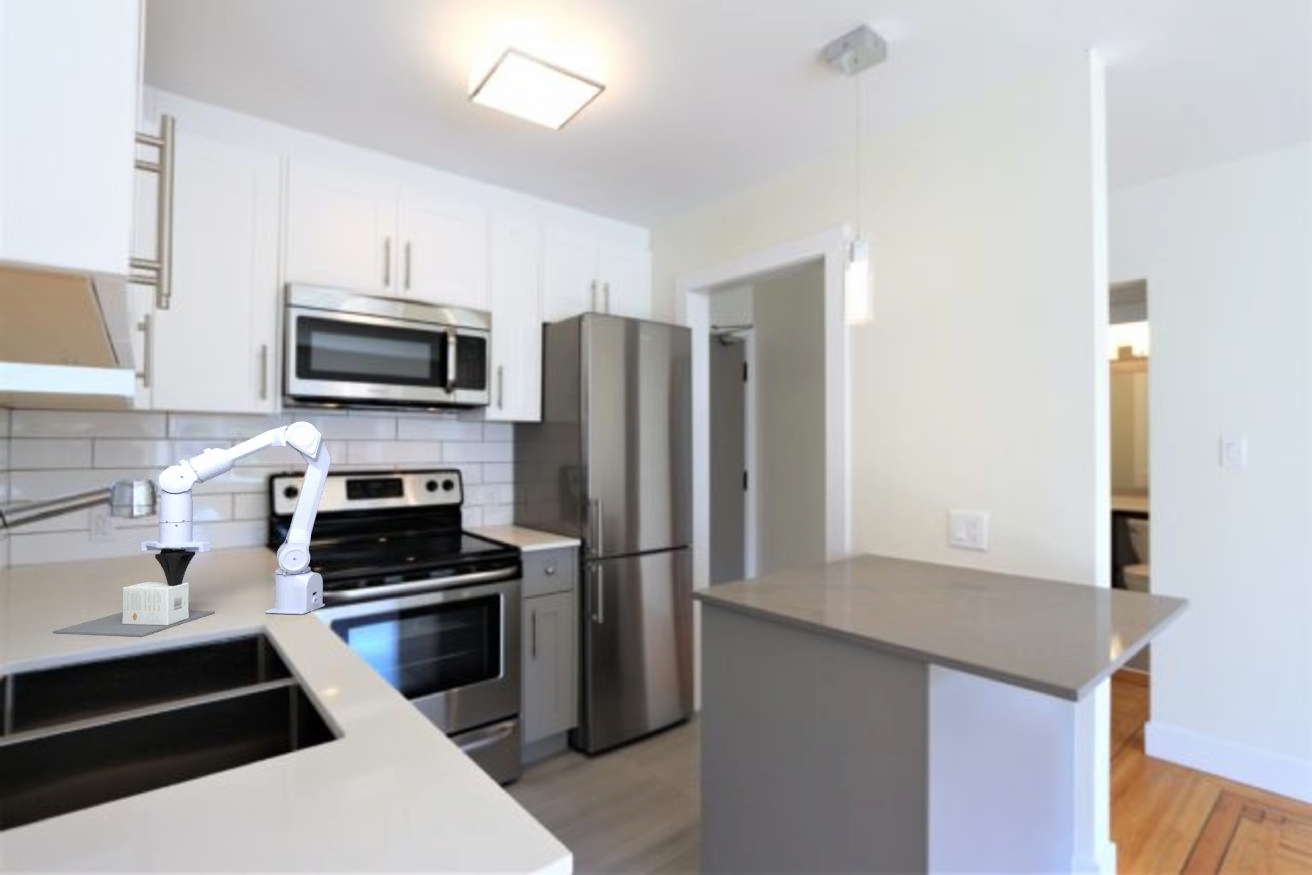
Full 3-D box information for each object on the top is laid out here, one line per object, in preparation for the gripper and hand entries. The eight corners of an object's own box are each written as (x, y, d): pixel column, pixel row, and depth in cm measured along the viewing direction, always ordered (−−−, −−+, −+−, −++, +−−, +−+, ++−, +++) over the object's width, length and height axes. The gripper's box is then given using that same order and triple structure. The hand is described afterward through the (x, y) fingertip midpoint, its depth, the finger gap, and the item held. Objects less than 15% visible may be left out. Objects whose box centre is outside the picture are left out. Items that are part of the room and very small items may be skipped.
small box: (189, 582, 136) (145, 580, 137) (167, 588, 131) (121, 586, 132) (189, 618, 136) (145, 617, 137) (167, 626, 131) (121, 624, 132)
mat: (214, 613, 143) (214, 611, 143) (141, 636, 125) (141, 634, 125) (135, 610, 145) (135, 608, 145) (52, 632, 127) (52, 631, 127)
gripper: (128, 523, 131) (126, 587, 131) (191, 524, 129) (189, 589, 129) (158, 519, 138) (157, 580, 138) (218, 520, 136) (217, 582, 136)
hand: (175, 584), depth 134 cm, fingers closed
